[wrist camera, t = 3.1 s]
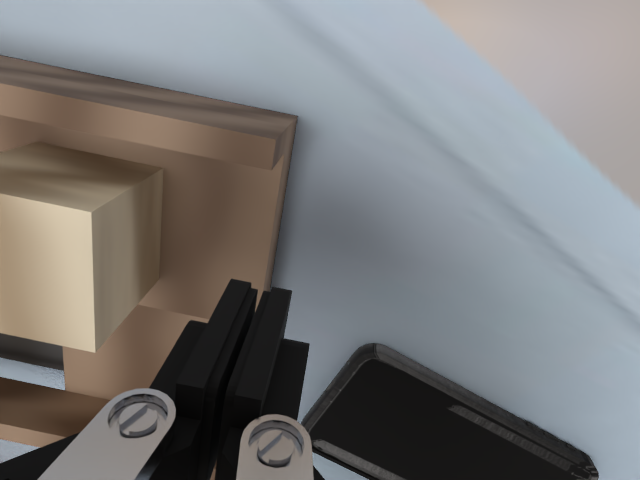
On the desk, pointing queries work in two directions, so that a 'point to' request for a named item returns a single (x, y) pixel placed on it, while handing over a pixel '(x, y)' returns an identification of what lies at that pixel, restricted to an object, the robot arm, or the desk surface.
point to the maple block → (75, 242)
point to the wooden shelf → (176, 224)
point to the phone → (429, 428)
